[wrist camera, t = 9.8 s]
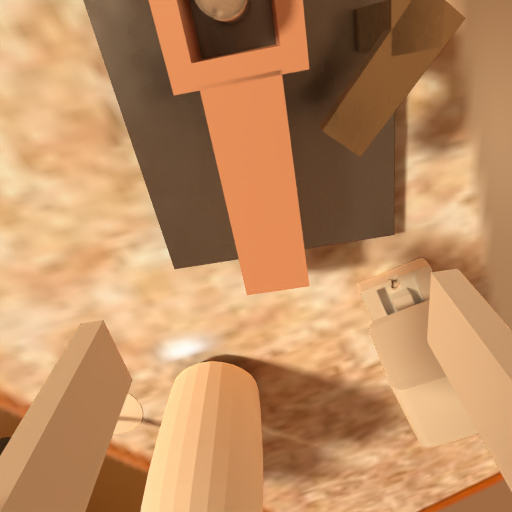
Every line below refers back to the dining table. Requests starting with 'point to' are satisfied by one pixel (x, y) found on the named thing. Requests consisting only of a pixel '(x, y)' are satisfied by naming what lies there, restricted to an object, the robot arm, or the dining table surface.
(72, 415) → the robot arm
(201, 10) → the base
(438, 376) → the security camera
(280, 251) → the link
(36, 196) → the dining table surface
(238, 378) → the cup
